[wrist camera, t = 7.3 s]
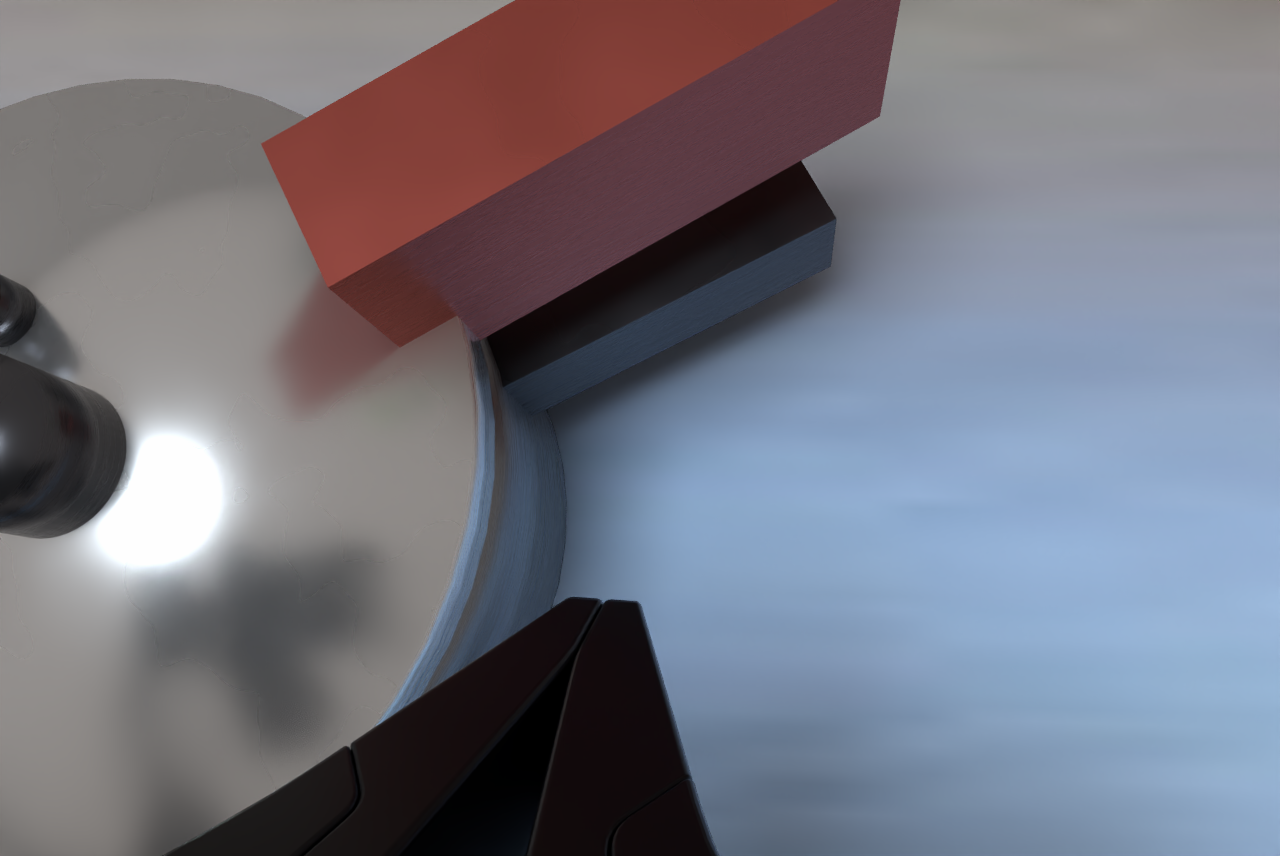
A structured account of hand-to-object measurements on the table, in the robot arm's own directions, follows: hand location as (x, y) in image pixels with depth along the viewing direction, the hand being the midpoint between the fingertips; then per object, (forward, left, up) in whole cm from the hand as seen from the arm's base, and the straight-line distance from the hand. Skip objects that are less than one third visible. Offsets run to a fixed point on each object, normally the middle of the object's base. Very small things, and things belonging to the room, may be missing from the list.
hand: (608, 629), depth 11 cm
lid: (+7, +5, -4) cm, 10 cm away
